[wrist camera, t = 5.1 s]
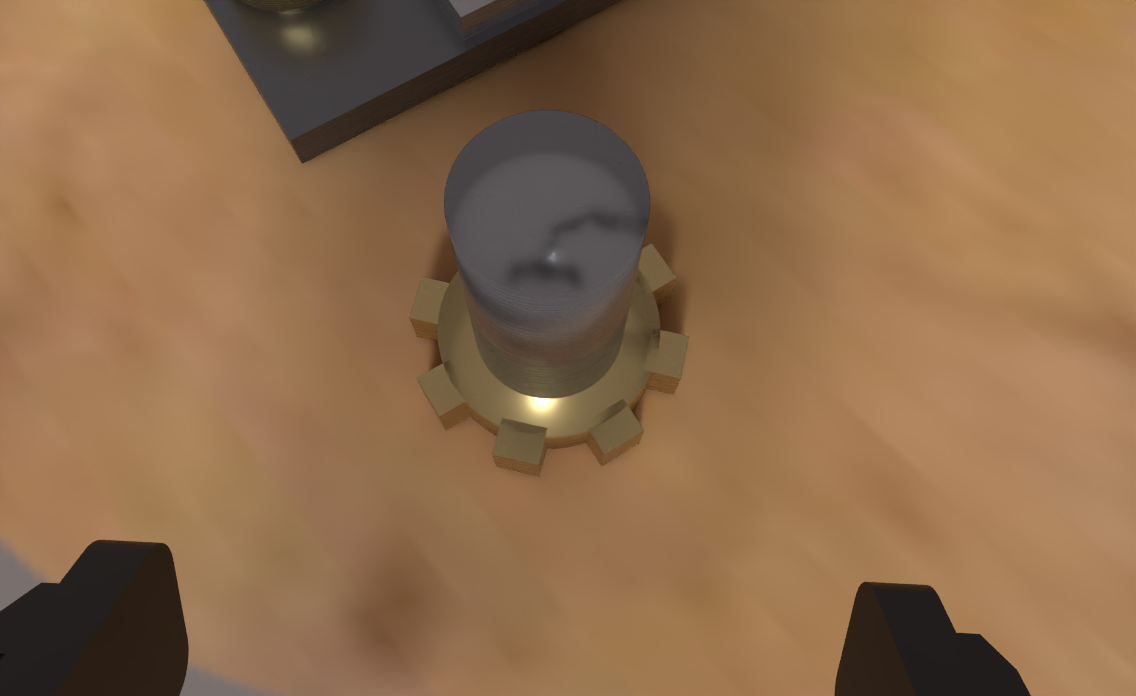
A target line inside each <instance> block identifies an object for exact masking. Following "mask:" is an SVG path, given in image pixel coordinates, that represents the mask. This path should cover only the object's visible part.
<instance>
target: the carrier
mask: <svg viewBox="0 0 1136 696" xmlns="http://www.w3.org/2000/svg"><path fill="white" fill-rule="evenodd" d="M618 1H620V0H204V2H205V3H206V5H207V7H208V8H209V10H210V11H211V13H212V15H213V16H214V18H215V20H216V21H217V23H218V25H219V26H220V28H221V30H222V31H223V33H224V35H225V36H226V38H227V40H228V41H229V43H230V45H231V46H232V48H233V50H234V51H235V53H236V55H237V56H238V58H239V60H240V61H241V63H242V65H243V66H244V68H245V70H246V71H247V73H248V75H249V76H250V78H251V80H252V81H253V83H254V85H255V86H256V88H257V90H258V91H259V93H260V95H261V96H262V98H263V100H264V101H265V103H266V105H267V106H268V108H269V110H270V111H271V113H272V115H273V116H274V118H275V119H276V121H277V123H278V124H279V126H280V128H281V129H282V131H283V133H284V134H285V136H286V138H287V139H288V141H289V143H290V144H291V146H292V148H293V149H294V151H295V153H296V154H297V156H298V158H299V159H300V161H301V163H302V164H303V163H305V162H307V161H309V160H311V159H313V158H315V157H316V156H318V155H320V154H322V153H324V152H326V151H328V150H330V149H332V148H334V147H336V146H338V145H340V144H342V143H344V142H346V141H348V140H350V139H351V138H353V137H355V136H357V135H359V134H361V133H363V132H365V131H367V130H369V129H371V128H373V127H375V126H377V125H379V124H381V123H383V122H385V121H386V120H388V119H390V118H392V117H394V116H396V115H398V114H400V113H402V112H404V111H406V110H408V109H410V108H412V107H414V106H416V105H418V104H419V103H421V102H423V101H425V100H427V99H429V98H431V97H433V96H435V95H437V94H439V93H441V92H443V91H445V90H447V89H449V88H451V87H453V86H454V85H456V84H458V83H460V82H462V81H464V80H466V79H468V78H470V77H472V76H474V75H476V74H478V73H480V72H482V71H484V70H486V69H488V68H489V67H491V66H493V65H495V64H497V63H499V62H501V61H503V60H505V59H507V58H509V57H511V56H513V55H515V54H517V53H519V52H521V51H523V50H524V49H526V48H528V47H530V46H532V45H534V44H536V43H538V42H540V41H542V40H544V39H546V38H548V37H550V36H552V35H554V34H556V33H558V32H559V31H561V30H563V29H565V28H567V27H569V26H571V25H573V24H575V23H577V22H579V21H581V20H583V19H585V18H587V17H589V16H591V15H593V14H594V13H596V12H598V11H600V10H602V9H604V8H606V7H608V6H610V5H612V4H614V3H616V2H618Z"/></svg>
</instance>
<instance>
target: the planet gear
mask: <svg viewBox="0 0 1136 696" xmlns="http://www.w3.org/2000/svg"><path fill="white" fill-rule="evenodd" d="M444 209H445V217H446V222H447V226H448V230H449V234H450V239H451V243H452V247H453V251H454V255H455V259H456V263H457V267H458V271H457V272H456V274H455V275H454V277H453V278H452V280H451V282H450V283H447V282H442V281H438V280H433V279H429V278H424V277H422V278H421V281H420V285H419V288H418V291H417V294H416V298H415V301H414V304H413V307H412V311H411V314H410V317H409V318H410V320H411V323H412V325H413V328H414V330H415V332H416V335H417V337H421V338H425V339H430V340H434V341H438V346H439V351H440V356H441V359H442V362H443V363H442V364H440V365H439V366H437V367H435V368H433V369H432V370H430V371H428V372H427V373H425V374H423V375H421V376H420V377H418V378H417V380H418V382H419V384H420V386H421V388H422V390H423V392H424V394H425V396H426V398H427V399H428V401H429V403H430V404H431V406H432V408H433V409H434V411H435V413H436V414H437V416H438V418H439V419H440V421H441V423H442V424H443V426H444V428H445V430H448V429H449V428H451V427H453V426H454V425H456V424H458V423H460V422H461V421H463V420H465V419H466V418H468V417H470V416H472V417H473V419H474V420H475V421H477V422H478V423H479V424H480V425H482V426H483V427H484V428H485V429H487V430H488V431H490V432H492V433H493V434H495V435H496V436H497V439H496V443H495V446H494V450H493V454H492V455H493V458H494V462H495V465H496V466H497V467H501V468H505V469H509V470H514V471H518V472H522V473H527V474H531V475H535V476H539V477H540V472H541V468H542V464H543V460H544V456H545V452H546V449H557V448H567V447H571V446H576V445H580V444H583V443H587V444H588V446H589V447H590V449H591V451H592V452H593V454H594V455H595V457H596V458H597V460H598V461H599V463H600V465H601V466H603V465H605V464H606V463H608V462H610V461H611V460H613V459H615V458H616V457H618V456H619V455H621V454H623V453H624V452H626V451H627V450H629V449H631V448H632V447H634V446H636V445H637V444H639V442H640V440H641V437H642V435H643V432H644V429H643V428H642V426H641V425H640V423H639V422H638V420H637V418H636V417H635V415H634V414H633V412H632V410H633V409H634V407H635V406H636V405H637V403H638V402H639V400H640V398H641V397H642V395H643V393H644V391H645V389H646V388H647V389H651V390H656V391H660V392H665V393H669V394H674V392H675V390H676V388H677V385H678V383H679V381H680V379H681V374H682V369H683V364H684V359H685V354H686V349H687V344H688V339H689V336H686V335H681V334H677V333H672V332H668V331H663V330H660V318H659V311H658V307H657V306H658V305H660V304H661V303H663V302H665V301H666V300H668V299H670V296H671V293H672V290H673V286H674V283H675V280H676V277H675V275H674V274H673V272H672V271H671V270H670V268H669V267H668V265H667V264H666V263H665V261H664V260H663V258H662V257H661V256H660V254H659V253H658V251H657V250H656V249H655V247H654V246H653V244H652V243H651V244H649V245H648V246H646V247H644V248H642V247H643V242H644V238H645V233H646V229H647V224H648V219H649V212H650V193H649V186H648V182H647V179H646V175H645V172H644V170H643V168H642V166H641V164H640V162H639V160H638V158H637V157H636V155H635V154H634V152H633V151H632V150H631V148H630V147H629V146H628V145H627V144H626V142H624V141H623V140H622V139H621V138H620V137H619V136H618V135H617V134H616V133H614V132H613V131H612V130H610V129H609V128H607V127H606V126H604V125H602V124H600V123H599V122H597V121H595V120H592V119H590V118H587V117H585V116H582V115H578V114H575V113H571V112H565V111H558V110H538V111H529V112H524V113H519V114H516V115H513V116H509V117H506V118H504V119H502V120H500V121H498V122H495V123H494V124H492V125H490V126H489V127H487V128H485V129H484V130H482V131H481V132H480V133H479V134H477V135H476V136H475V137H474V138H473V139H472V140H471V141H470V142H469V143H468V144H467V145H466V146H465V147H464V149H463V150H462V151H461V153H460V154H459V155H458V157H457V159H456V160H455V162H454V164H453V166H452V168H451V171H450V173H449V176H448V179H447V183H446V188H445V196H444Z"/></svg>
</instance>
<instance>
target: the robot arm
mask: <svg viewBox="0 0 1136 696" xmlns="http://www.w3.org/2000/svg"><path fill="white" fill-rule="evenodd" d="M188 651H189V650H188V638H187V633H186V627H185V622H184V616H183V611H182V605H181V600H180V594H179V589H178V583H177V578H176V572H175V567H174V561H173V557H172V553H171V551H170V549H169V547H168V546H167V545H166V544H164V543H153V542H134V541H114V540H97V541H94V542H93V543H91V544H90V545H89V546H88V547H87V548H86V549H85V550H84V552H83V553H82V554H81V556H80V557H79V558H78V560H77V561H76V562H75V564H74V565H73V566H72V567H71V569H70V570H69V571H68V573H67V574H66V575H65V577H64V578H63V579H62V581H61V582H60V583H59V584H58V583H40V584H39V585H37V586H36V587H35V588H33V589H32V590H30V591H29V592H28V593H26V594H25V595H23V596H22V597H20V598H19V599H17V600H16V601H15V602H13V603H12V604H10V605H9V606H7V607H6V608H5V609H3V610H2V611H0V696H179V695H180V692H181V689H182V687H183V683H184V680H185V676H186V671H187V665H188ZM835 696H1031V695H1030V693H1029V691H1028V689H1027V688H1026V686H1025V684H1024V682H1023V680H1022V678H1021V676H1020V675H1019V673H1018V671H1017V669H1015V668H1014V667H1013V666H1012V665H1011V664H1010V663H1009V662H1008V661H1007V660H1006V659H1005V658H1004V657H1003V656H1002V655H1001V654H1000V653H999V652H998V651H997V650H996V649H995V648H994V647H993V646H992V645H991V644H990V643H988V642H987V641H986V640H985V639H984V638H983V637H982V636H981V635H980V634H968V633H956V631H955V629H954V627H953V625H952V623H951V621H950V619H949V617H948V615H947V613H946V611H945V609H944V606H943V604H942V602H941V600H940V598H939V596H938V594H937V593H936V591H935V590H934V589H933V588H932V587H931V586H928V585H915V584H896V583H877V582H863V583H862V584H861V585H860V587H859V588H858V591H857V593H856V597H855V601H854V605H853V609H852V613H851V618H850V622H849V626H848V630H847V635H846V639H845V643H844V647H843V651H842V656H841V660H840V664H839V668H838V672H837V677H836V684H835Z"/></svg>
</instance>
